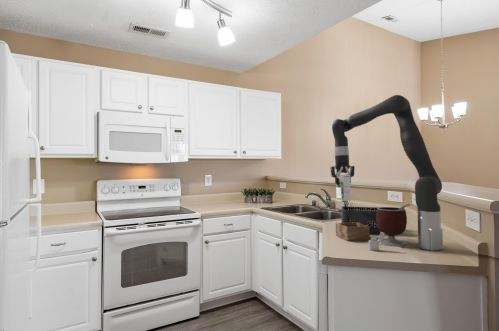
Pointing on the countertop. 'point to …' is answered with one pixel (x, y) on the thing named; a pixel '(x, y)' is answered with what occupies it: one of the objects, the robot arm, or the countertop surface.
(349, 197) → the syrup box
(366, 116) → the robot arm
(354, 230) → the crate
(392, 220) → the mate gourd
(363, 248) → the countertop surface
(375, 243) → the lighter
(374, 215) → the storage bin
